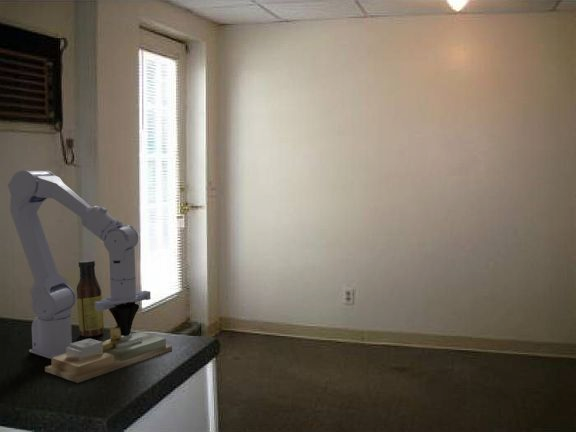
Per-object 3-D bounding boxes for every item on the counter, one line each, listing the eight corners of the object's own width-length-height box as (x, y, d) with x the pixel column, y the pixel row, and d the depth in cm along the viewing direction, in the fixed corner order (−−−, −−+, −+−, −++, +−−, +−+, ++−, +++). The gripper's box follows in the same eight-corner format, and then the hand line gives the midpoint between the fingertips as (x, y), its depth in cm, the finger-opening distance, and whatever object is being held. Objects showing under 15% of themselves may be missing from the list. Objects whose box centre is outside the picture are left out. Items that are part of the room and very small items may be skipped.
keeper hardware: (66, 357, 128) (65, 344, 127) (129, 338, 141) (128, 327, 141) (79, 361, 125) (78, 348, 125) (142, 341, 138) (141, 330, 138)
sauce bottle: (109, 332, 157) (106, 259, 156) (94, 338, 151) (91, 263, 150) (88, 330, 160) (85, 258, 158) (73, 336, 154) (70, 262, 152)
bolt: (86, 351, 130) (86, 333, 130) (117, 342, 137) (116, 325, 137) (93, 353, 129) (92, 335, 129) (123, 344, 136) (123, 326, 135)
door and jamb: (45, 371, 128) (44, 358, 127) (139, 341, 148) (139, 330, 148) (77, 383, 121) (76, 368, 120) (172, 350, 141) (171, 338, 141)
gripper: (107, 285, 128) (109, 345, 129) (158, 274, 139) (159, 330, 141) (88, 281, 132) (90, 340, 133) (139, 272, 144) (140, 325, 145)
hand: (124, 335), depth 137 cm, fingers closed
